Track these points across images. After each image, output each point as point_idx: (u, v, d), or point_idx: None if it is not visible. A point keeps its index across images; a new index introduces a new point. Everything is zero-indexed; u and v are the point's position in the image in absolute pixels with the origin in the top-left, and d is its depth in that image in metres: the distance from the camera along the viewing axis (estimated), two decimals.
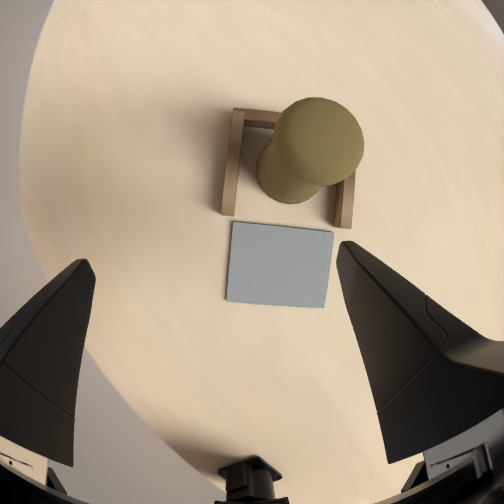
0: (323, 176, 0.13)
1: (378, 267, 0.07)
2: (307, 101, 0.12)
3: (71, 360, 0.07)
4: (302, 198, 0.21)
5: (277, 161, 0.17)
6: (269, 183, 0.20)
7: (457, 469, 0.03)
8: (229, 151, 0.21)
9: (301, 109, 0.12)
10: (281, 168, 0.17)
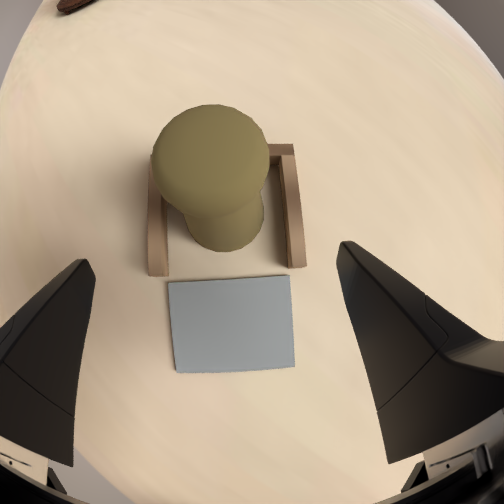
0: (209, 201, 0.10)
1: (378, 267, 0.07)
2: (181, 114, 0.10)
3: (71, 360, 0.07)
4: (237, 241, 0.18)
5: None
6: (193, 230, 0.17)
7: (457, 469, 0.03)
8: (149, 203, 0.19)
9: (172, 125, 0.10)
10: None
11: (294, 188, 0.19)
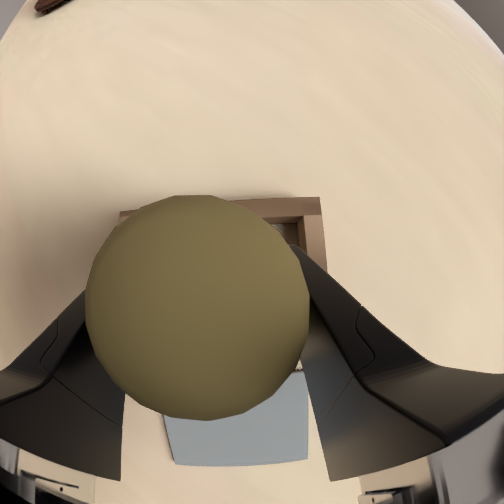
0: (200, 420, 0.05)
1: (313, 273, 0.07)
2: (124, 228, 0.05)
3: None
4: None
5: None
6: None
7: None
8: None
9: (106, 263, 0.05)
10: None
11: (321, 266, 0.14)
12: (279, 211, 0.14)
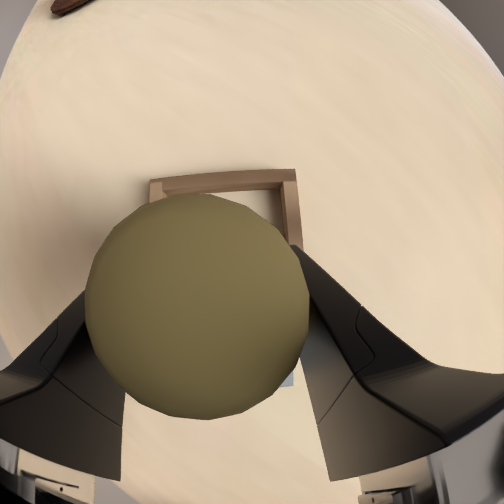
0: (200, 419, 0.05)
1: (313, 273, 0.07)
2: (124, 227, 0.05)
3: None
4: None
5: None
6: None
7: None
8: None
9: (106, 262, 0.05)
10: None
11: (296, 217, 0.19)
12: (265, 178, 0.19)
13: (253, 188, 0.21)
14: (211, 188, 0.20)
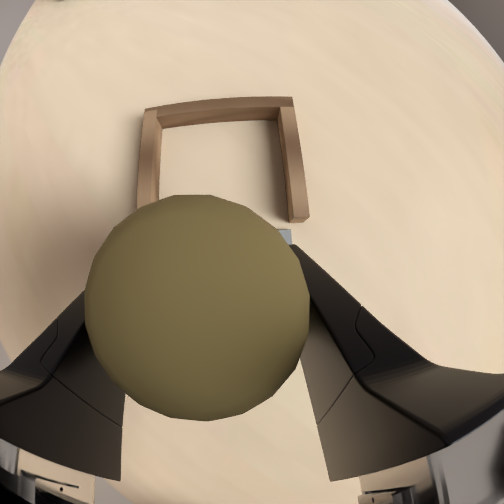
0: (199, 420, 0.05)
1: (313, 273, 0.07)
2: (124, 228, 0.05)
3: None
4: None
5: None
6: None
7: None
8: (141, 154, 0.17)
9: (106, 263, 0.05)
10: None
11: (294, 137, 0.17)
12: (262, 104, 0.17)
13: (250, 117, 0.19)
14: (207, 115, 0.18)
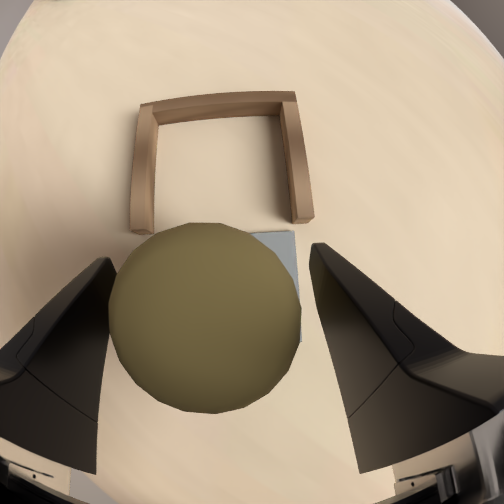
0: (208, 413, 0.06)
1: (346, 270, 0.07)
2: (144, 254, 0.06)
3: (94, 363, 0.07)
4: None
5: None
6: None
7: (421, 489, 0.03)
8: (135, 151, 0.16)
9: (130, 285, 0.06)
10: None
11: (297, 133, 0.16)
12: (263, 98, 0.16)
13: (250, 113, 0.18)
14: (205, 111, 0.17)
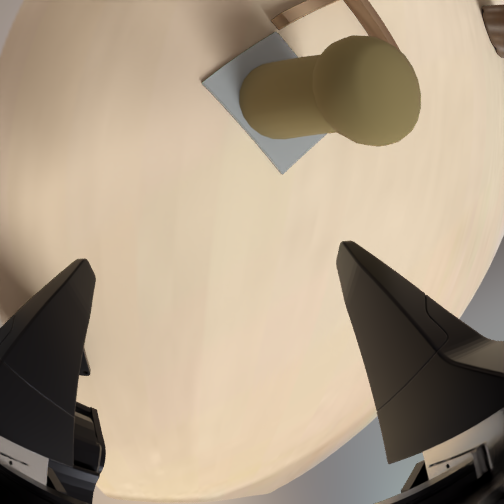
0: (356, 117, 0.08)
1: (378, 267, 0.07)
2: (400, 52, 0.07)
3: (71, 360, 0.07)
4: (273, 130, 0.16)
5: (301, 70, 0.10)
6: (259, 88, 0.14)
7: (457, 469, 0.03)
8: None
9: (392, 50, 0.07)
10: (299, 79, 0.11)
11: None
12: None
13: None
14: (372, 27, 0.15)
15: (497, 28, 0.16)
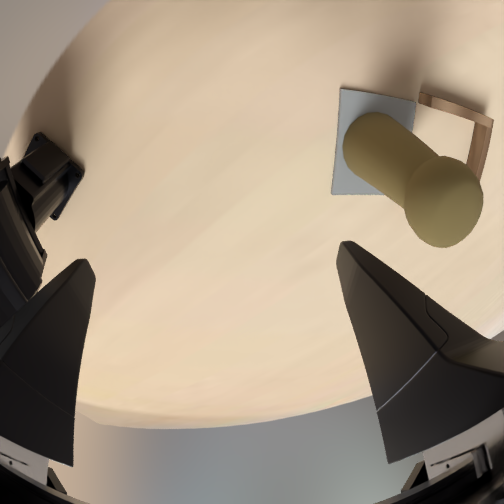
0: (427, 213, 0.11)
1: (378, 267, 0.07)
2: (482, 199, 0.10)
3: (71, 360, 0.07)
4: (356, 164, 0.18)
5: (416, 151, 0.13)
6: (375, 131, 0.16)
7: (457, 469, 0.03)
8: (471, 111, 0.15)
9: (479, 195, 0.10)
10: (410, 155, 0.13)
11: None
12: None
13: None
14: (475, 157, 0.19)
15: None
